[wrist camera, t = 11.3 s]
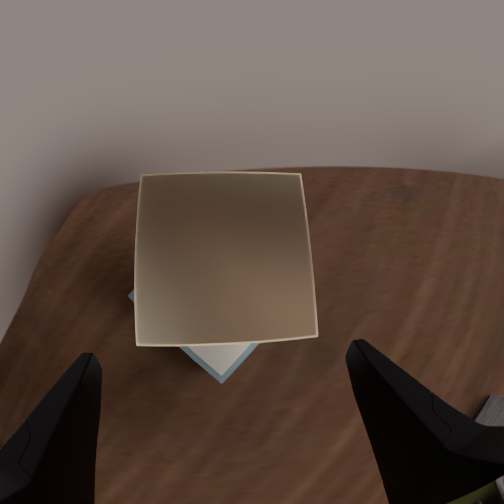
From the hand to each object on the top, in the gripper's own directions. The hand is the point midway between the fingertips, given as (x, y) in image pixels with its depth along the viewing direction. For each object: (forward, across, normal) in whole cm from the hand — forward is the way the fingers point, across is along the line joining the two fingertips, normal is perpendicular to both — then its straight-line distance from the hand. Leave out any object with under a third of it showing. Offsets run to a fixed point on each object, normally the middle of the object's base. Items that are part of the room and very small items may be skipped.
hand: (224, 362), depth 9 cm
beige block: (+8, 0, +3) cm, 8 cm away
